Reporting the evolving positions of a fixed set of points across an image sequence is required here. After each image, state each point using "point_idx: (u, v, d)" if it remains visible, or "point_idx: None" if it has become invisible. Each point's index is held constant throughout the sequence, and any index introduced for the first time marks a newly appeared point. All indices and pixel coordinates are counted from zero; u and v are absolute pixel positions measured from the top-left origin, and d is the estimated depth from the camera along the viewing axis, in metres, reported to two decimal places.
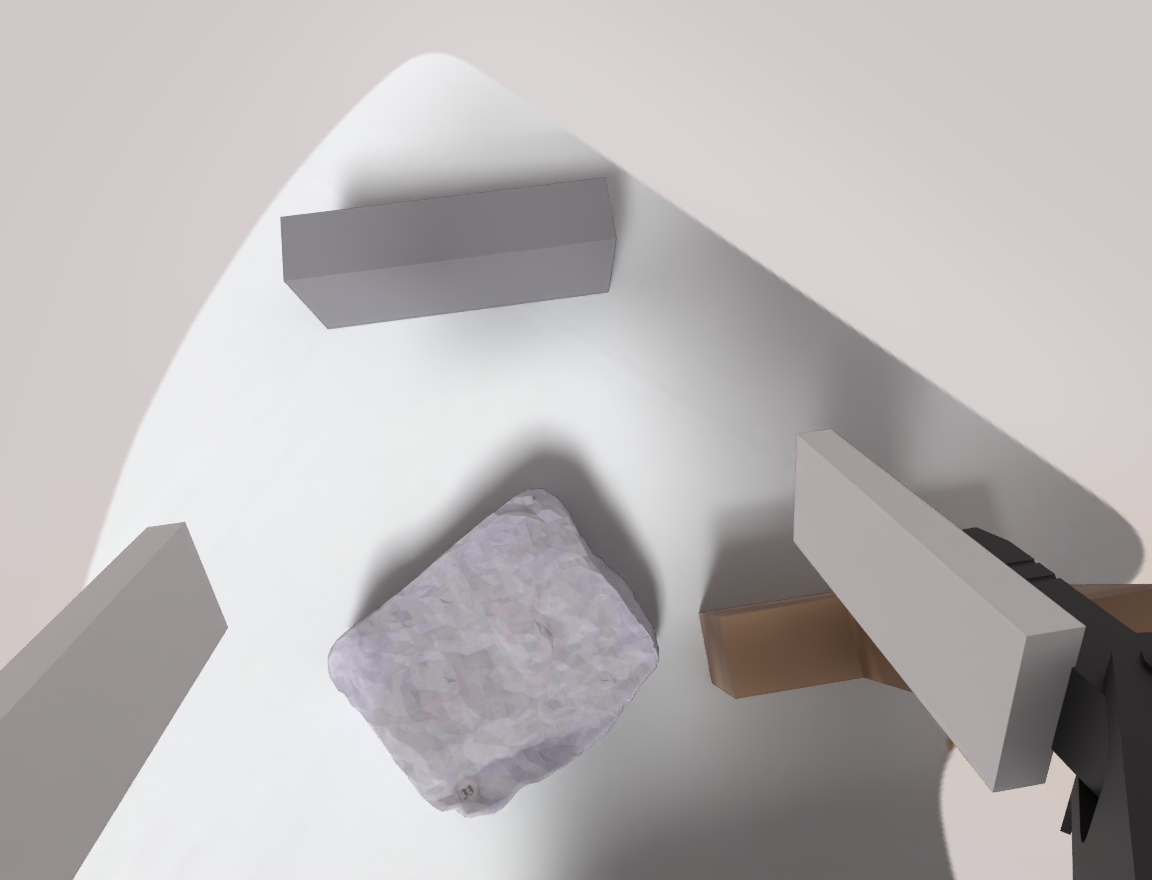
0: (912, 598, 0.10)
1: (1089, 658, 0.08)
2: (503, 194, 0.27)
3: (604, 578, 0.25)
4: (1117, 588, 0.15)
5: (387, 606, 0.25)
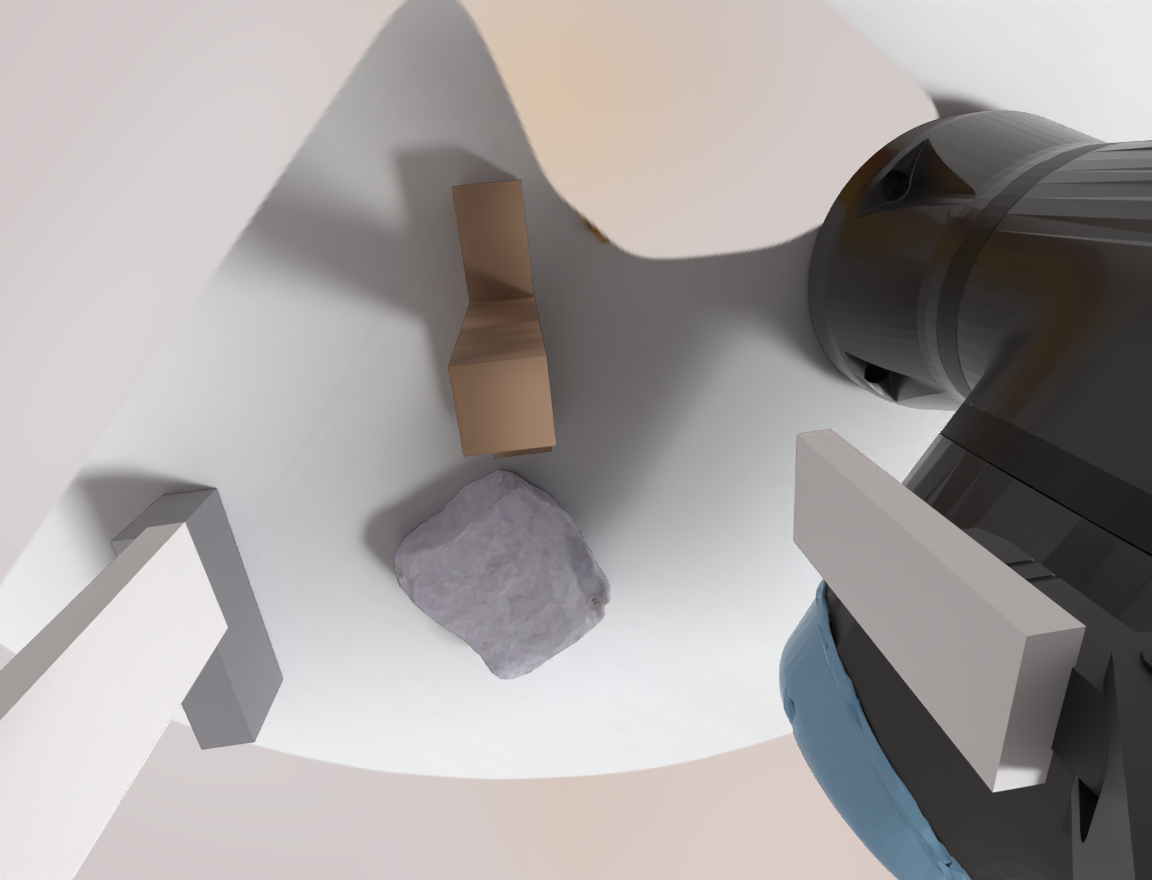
0: (912, 598, 0.10)
1: (1089, 658, 0.08)
2: None
3: (459, 534, 0.34)
4: None
5: (479, 652, 0.38)
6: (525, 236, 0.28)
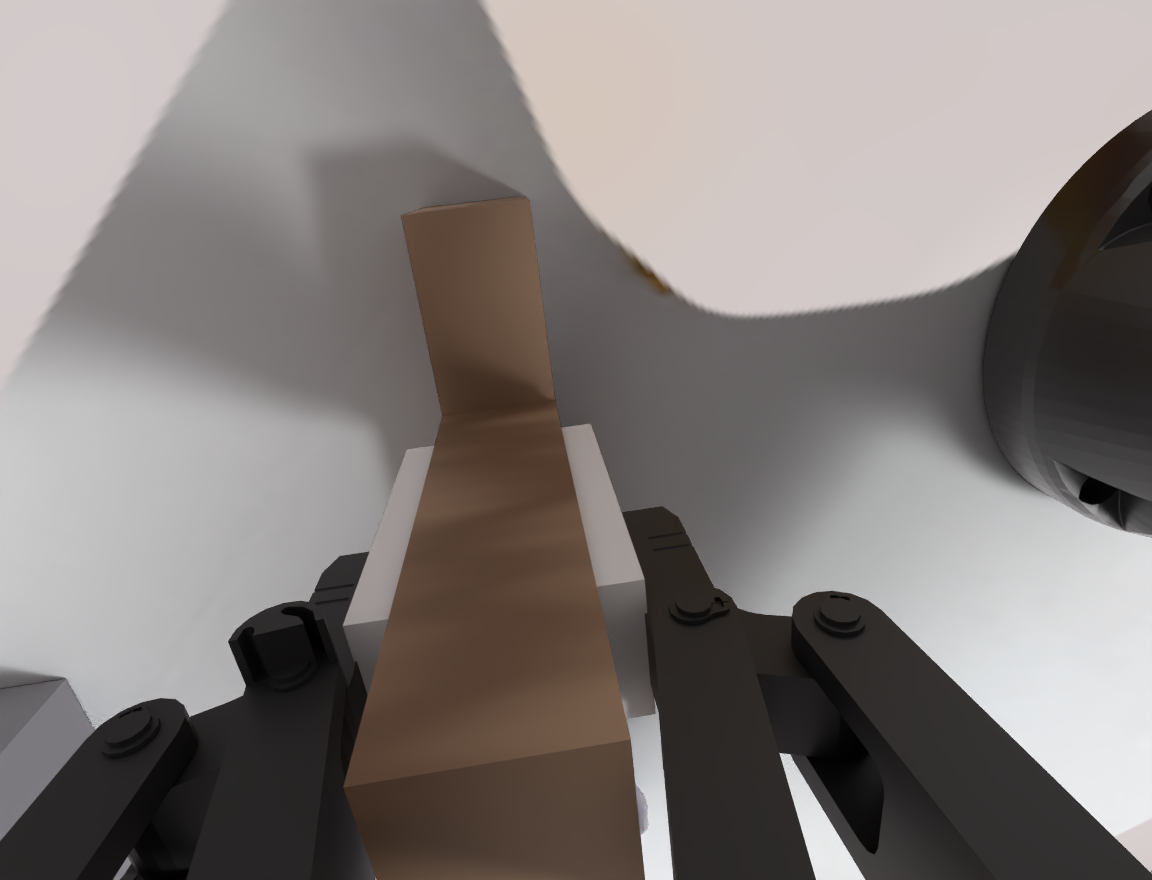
0: None
1: None
2: None
3: None
4: None
5: None
6: (539, 301, 0.16)
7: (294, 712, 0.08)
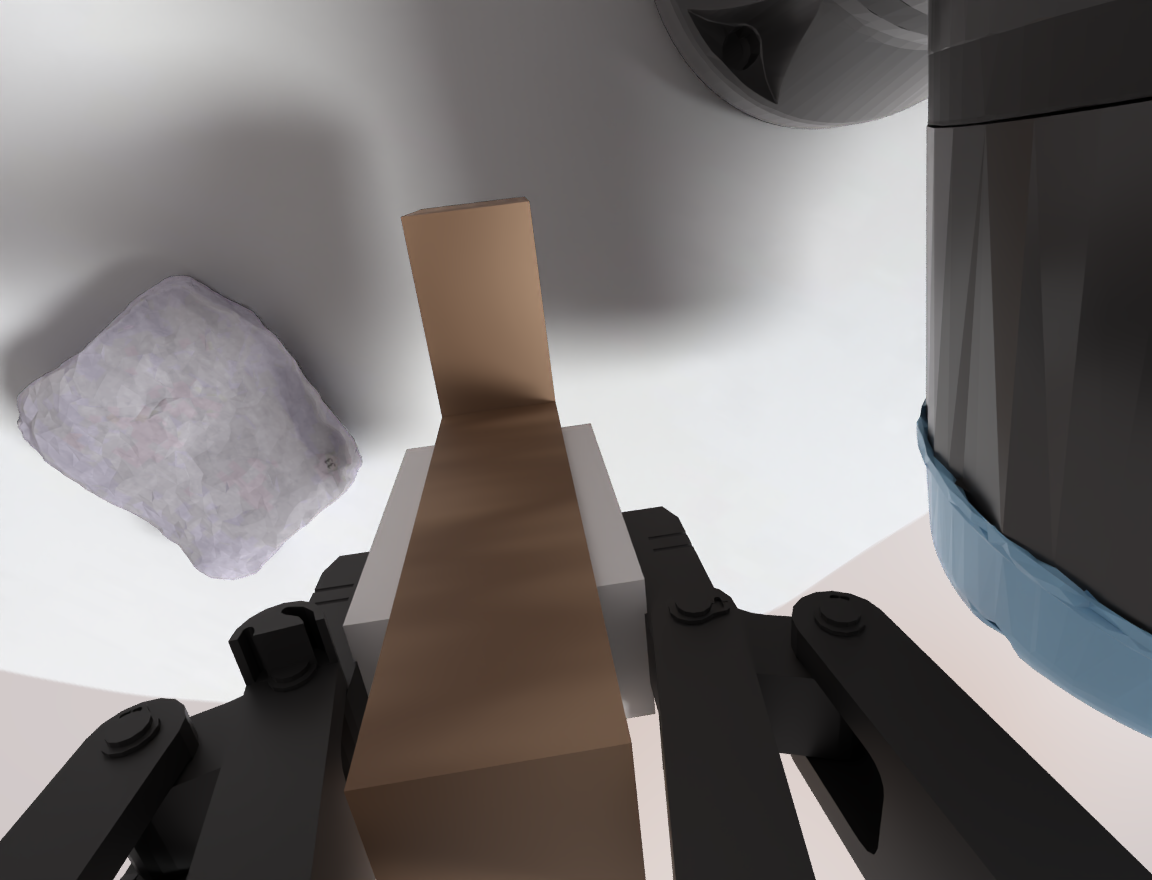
0: None
1: None
2: None
3: (83, 351, 0.24)
4: None
5: (174, 540, 0.28)
6: (539, 302, 0.16)
7: (294, 712, 0.08)
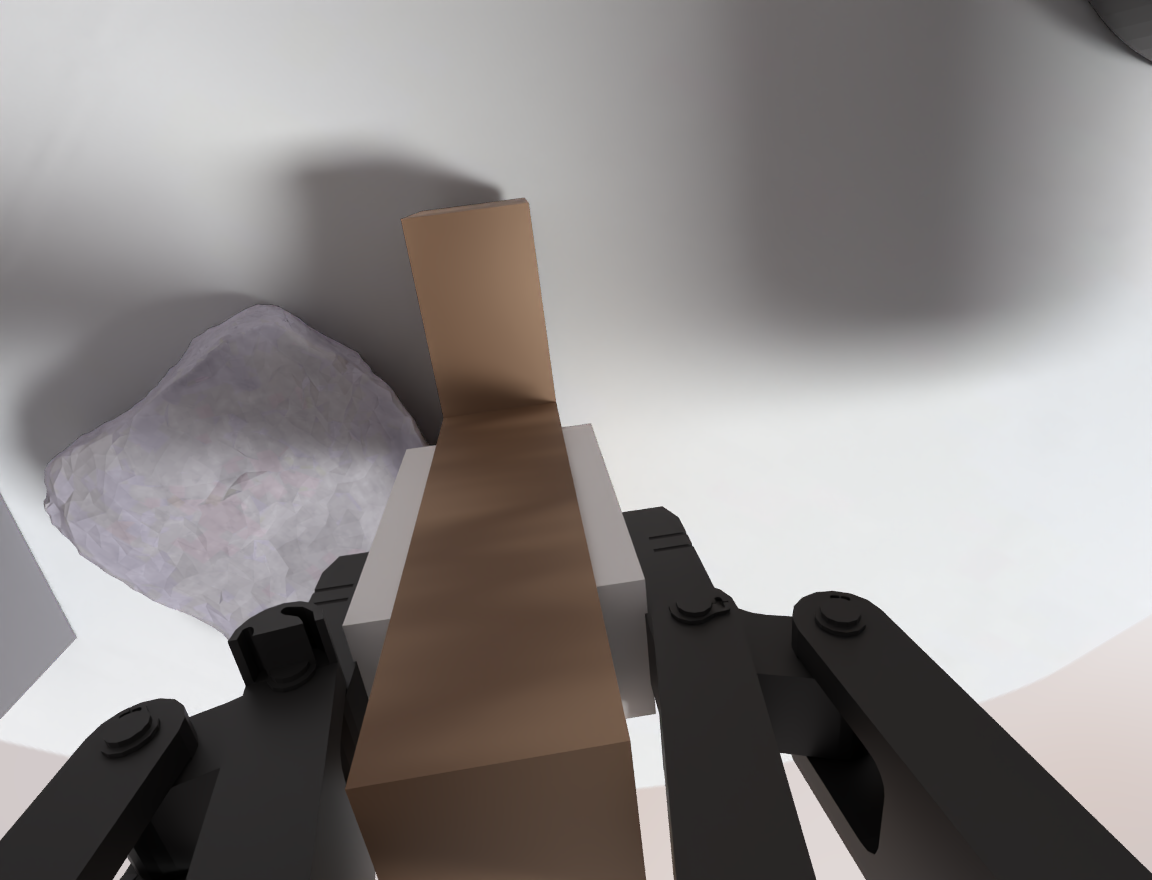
0: None
1: None
2: None
3: (139, 411, 0.17)
4: None
5: None
6: (539, 303, 0.16)
7: (294, 712, 0.08)
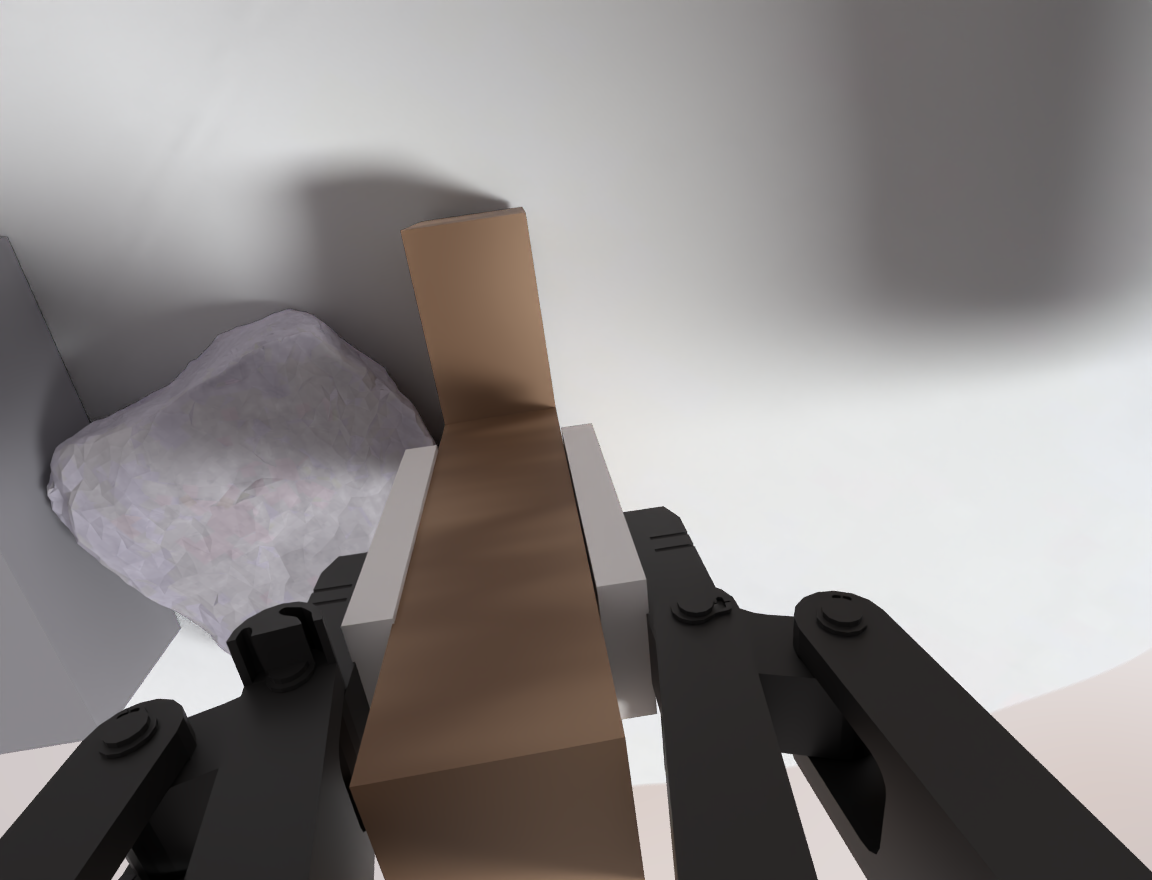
0: None
1: None
2: None
3: (164, 408, 0.17)
4: None
5: None
6: (537, 310, 0.16)
7: (292, 713, 0.08)
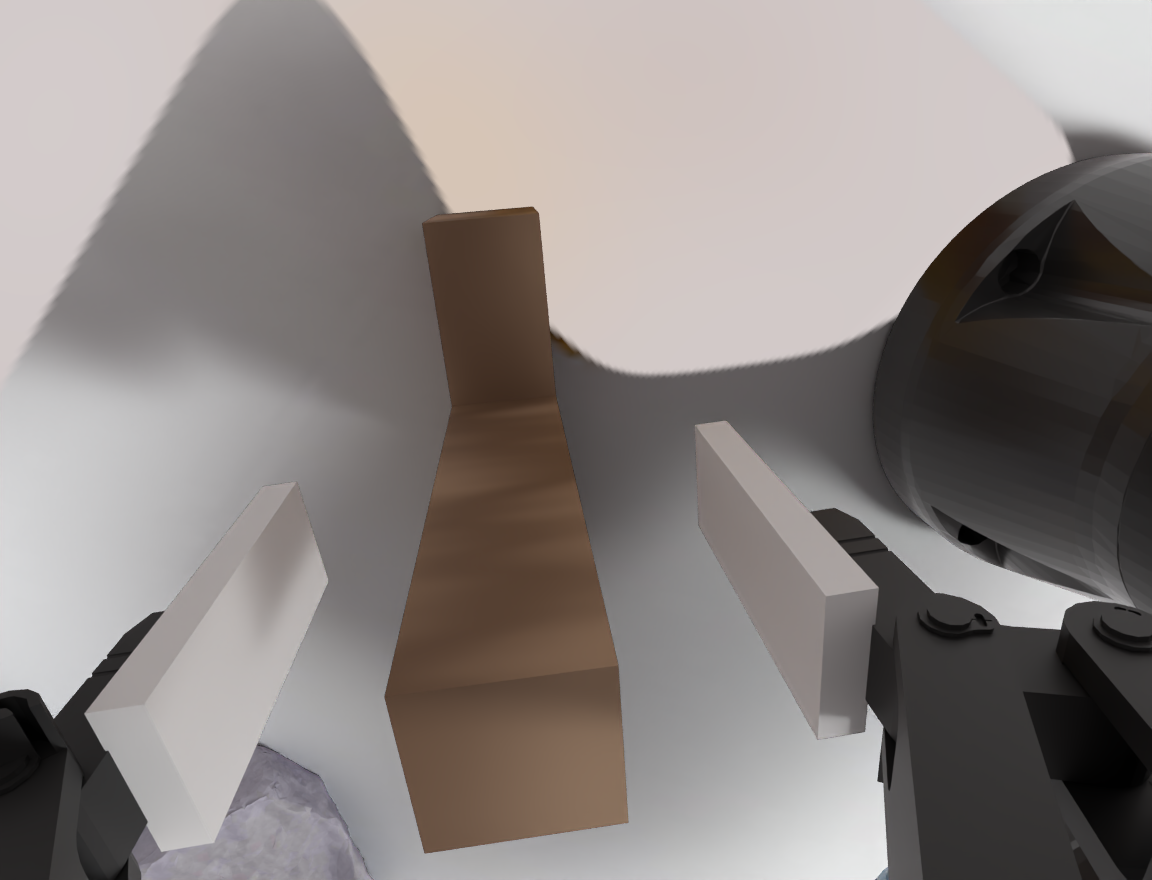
0: (766, 570, 0.11)
1: (890, 617, 0.09)
2: None
3: (157, 859, 0.24)
4: None
5: None
6: (544, 304, 0.17)
7: (10, 816, 0.07)
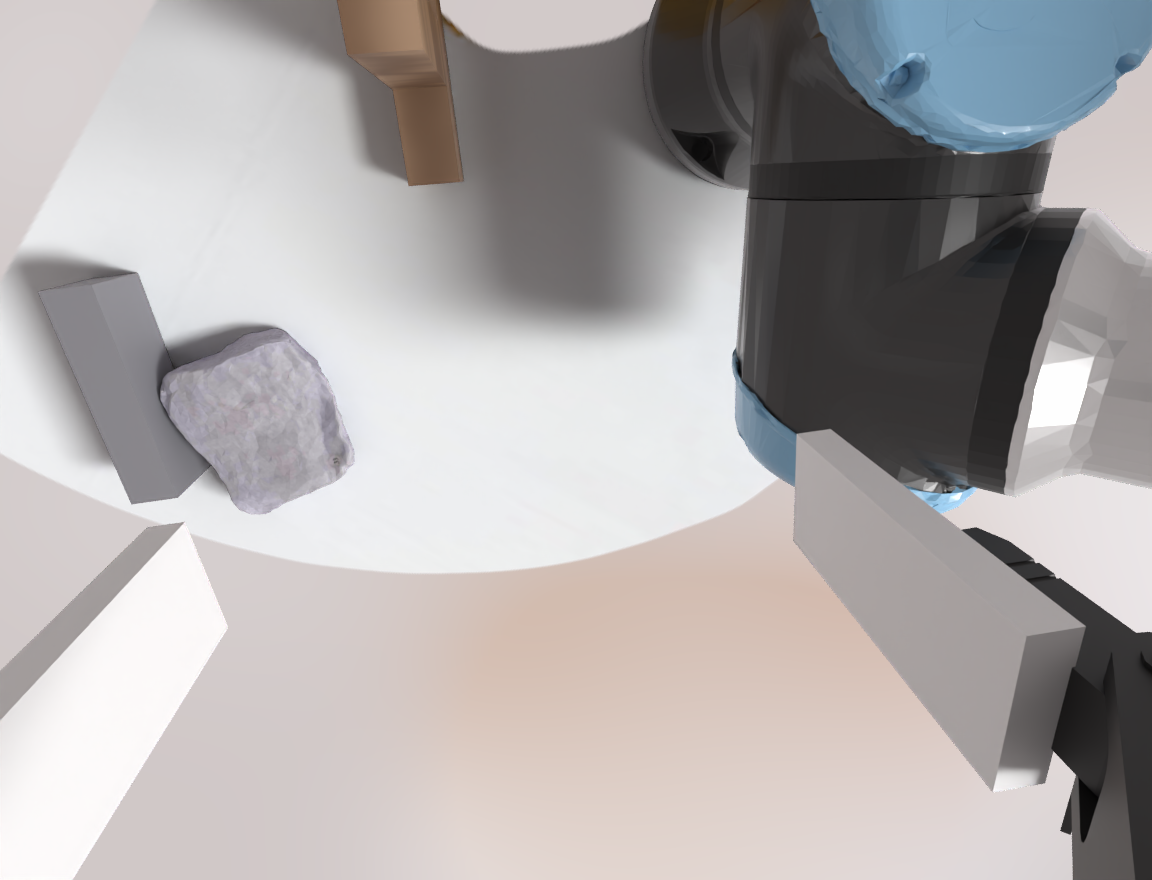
0: (912, 598, 0.10)
1: (1089, 658, 0.08)
2: (74, 365, 0.38)
3: (219, 364, 0.40)
4: None
5: (224, 481, 0.44)
6: None
7: None
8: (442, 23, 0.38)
